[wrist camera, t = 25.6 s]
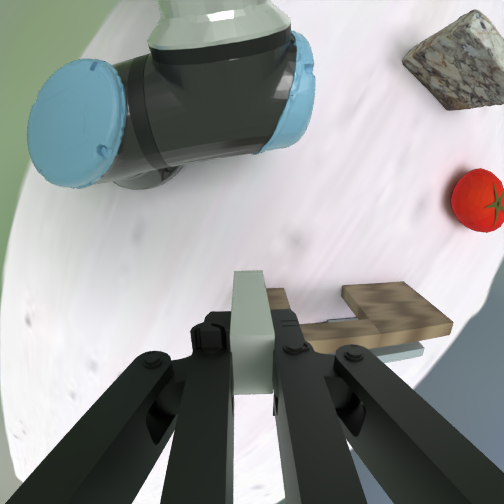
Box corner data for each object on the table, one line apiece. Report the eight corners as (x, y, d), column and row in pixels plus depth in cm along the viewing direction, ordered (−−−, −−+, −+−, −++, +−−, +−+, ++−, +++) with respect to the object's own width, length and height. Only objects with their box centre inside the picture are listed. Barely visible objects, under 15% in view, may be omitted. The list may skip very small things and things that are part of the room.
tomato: (484, 222, 46) (519, 234, 36) (441, 228, 46) (476, 242, 36) (484, 167, 43) (520, 170, 33) (439, 166, 43) (476, 169, 33)
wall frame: (246, 300, 48) (248, 358, 33) (246, 289, 48) (248, 343, 32) (401, 291, 49) (449, 334, 34) (403, 281, 49) (453, 322, 33)
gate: (313, 351, 51) (329, 395, 40) (316, 320, 49) (335, 361, 38) (387, 343, 52) (414, 380, 40) (393, 314, 50) (424, 348, 38)
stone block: (396, 67, 38) (467, 29, 19) (409, 43, 37) (477, 4, 18) (448, 116, 41) (528, 106, 21) (460, 91, 39) (535, 76, 20)
